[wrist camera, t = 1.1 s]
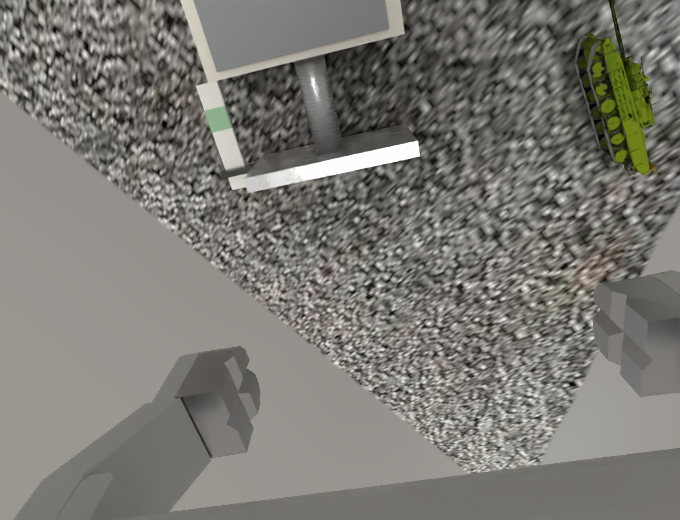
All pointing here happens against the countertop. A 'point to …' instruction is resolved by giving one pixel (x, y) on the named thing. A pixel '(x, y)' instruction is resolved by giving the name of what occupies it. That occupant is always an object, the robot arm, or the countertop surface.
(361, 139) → the plate
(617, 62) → the toy tank
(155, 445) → the robot arm
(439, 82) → the countertop surface
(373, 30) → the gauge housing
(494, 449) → the countertop surface
